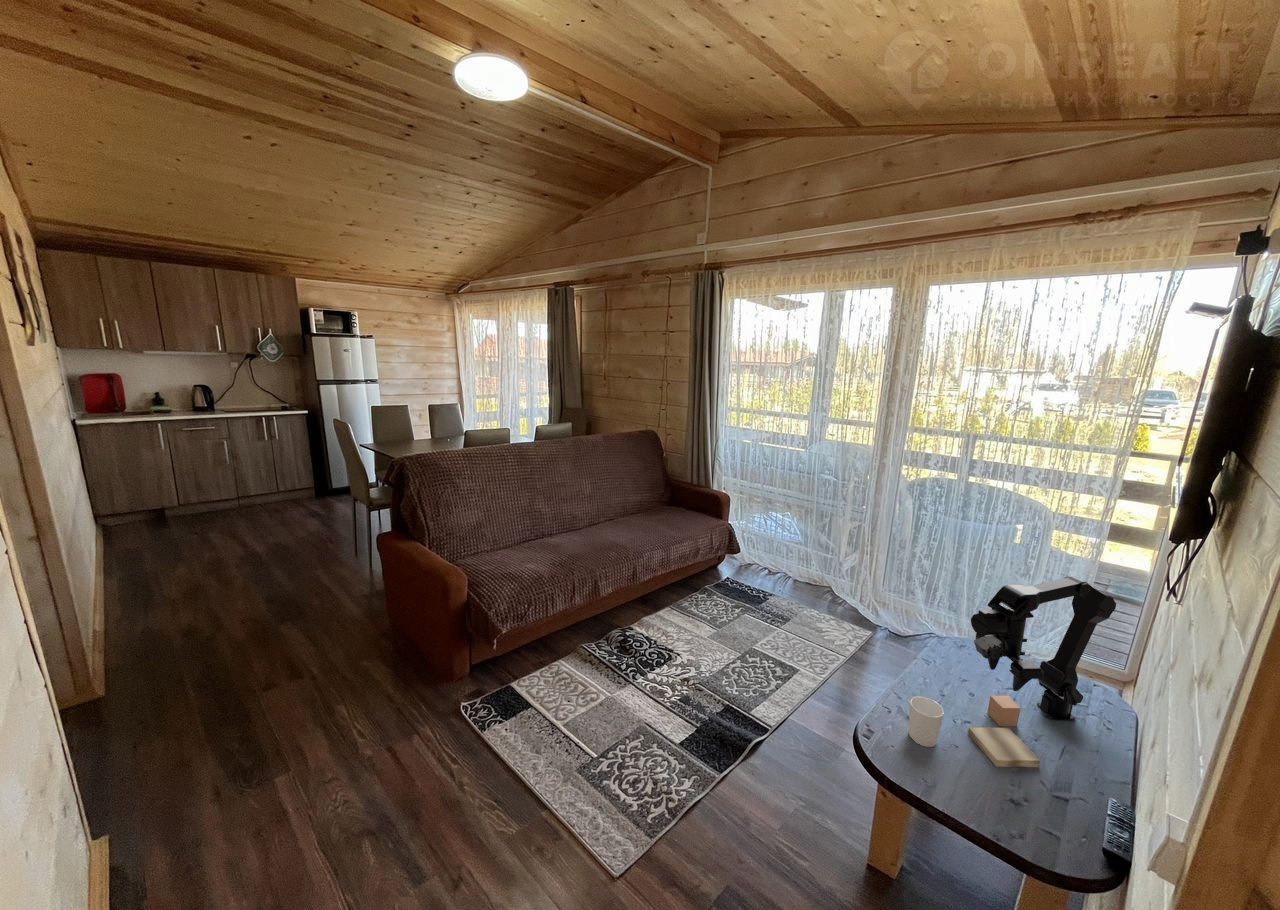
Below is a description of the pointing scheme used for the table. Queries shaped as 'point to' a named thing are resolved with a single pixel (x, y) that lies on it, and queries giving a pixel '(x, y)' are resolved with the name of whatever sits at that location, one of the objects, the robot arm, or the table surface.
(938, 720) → the white cup
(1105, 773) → the table surface
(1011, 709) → the block
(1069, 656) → the robot arm
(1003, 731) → the base slab
